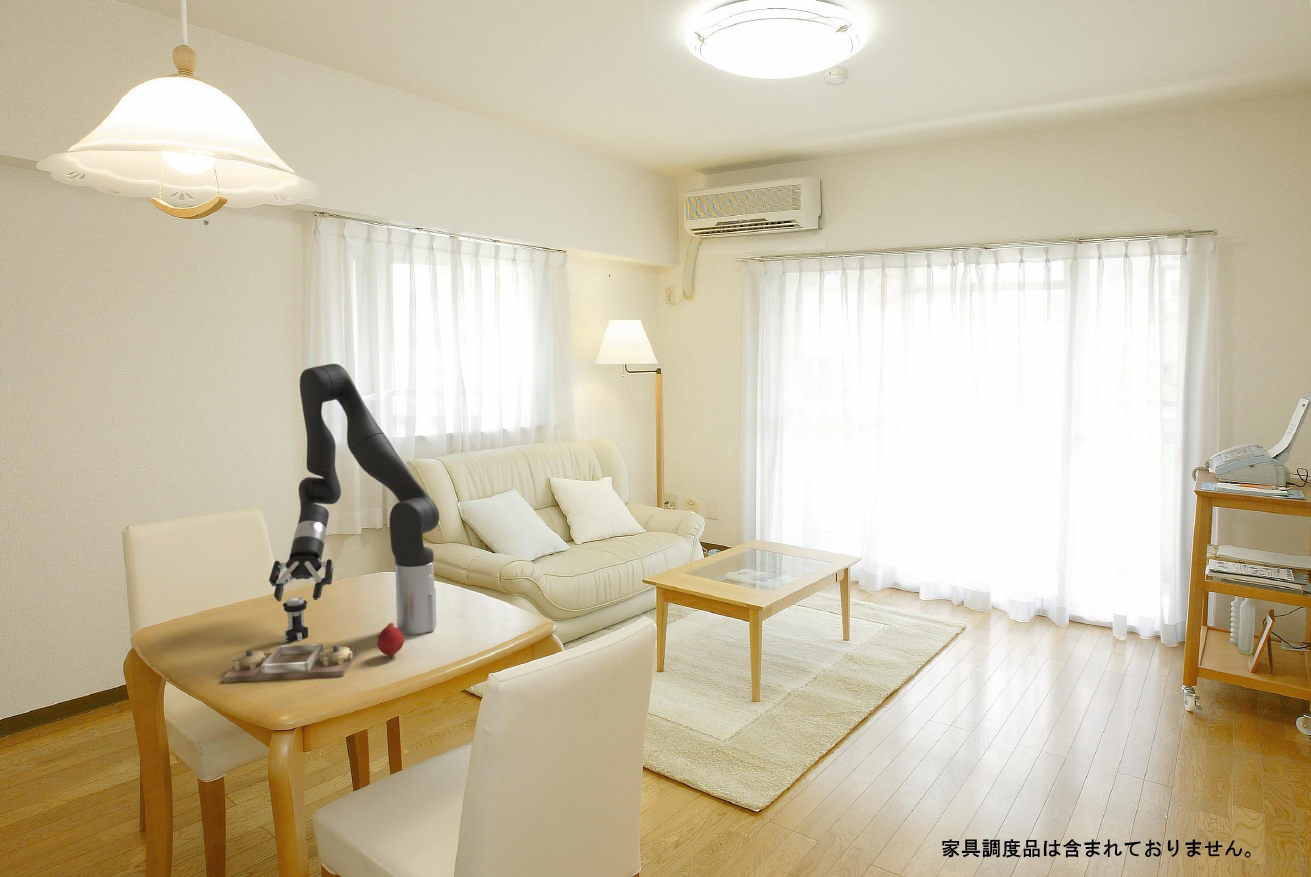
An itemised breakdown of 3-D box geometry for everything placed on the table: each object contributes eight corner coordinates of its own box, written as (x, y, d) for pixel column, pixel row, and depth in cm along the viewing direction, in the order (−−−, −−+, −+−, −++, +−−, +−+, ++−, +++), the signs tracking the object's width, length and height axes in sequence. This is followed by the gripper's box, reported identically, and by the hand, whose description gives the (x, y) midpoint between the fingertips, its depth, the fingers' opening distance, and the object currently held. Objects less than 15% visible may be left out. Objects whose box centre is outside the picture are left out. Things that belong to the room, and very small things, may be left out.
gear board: (358, 653, 177) (358, 635, 177) (345, 676, 165) (344, 657, 164) (244, 659, 174) (243, 641, 173) (221, 682, 161) (220, 663, 160)
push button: (287, 646, 181) (285, 605, 180) (274, 642, 184) (272, 601, 183) (313, 638, 187) (311, 598, 186) (300, 633, 190) (298, 594, 189)
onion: (388, 663, 172) (387, 628, 171) (372, 658, 175) (371, 623, 174) (409, 655, 177) (408, 621, 176) (392, 650, 180) (392, 616, 179)
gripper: (275, 535, 194) (261, 593, 184) (334, 534, 196) (324, 591, 186) (283, 550, 200) (269, 607, 190) (340, 549, 202) (330, 605, 192)
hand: (296, 599), depth 188 cm, fingers open, 8 cm apart
